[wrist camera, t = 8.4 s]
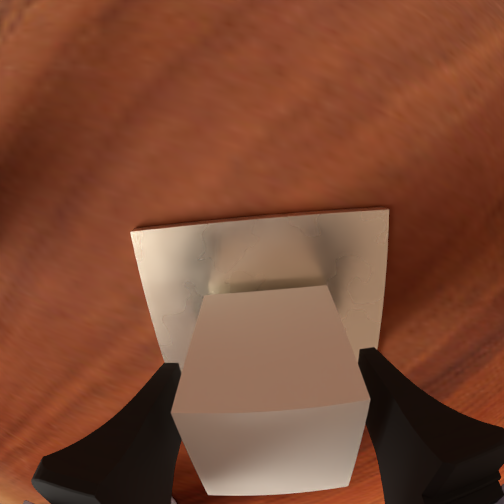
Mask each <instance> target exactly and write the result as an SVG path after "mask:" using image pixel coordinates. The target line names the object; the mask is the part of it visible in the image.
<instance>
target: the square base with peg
mask: <svg viewBox="0 0 504 504" xmlns="http://www.w3.org/2000/svg"><path fill="white" fill-rule="evenodd" d="M388 230H389V209H388V208H386V207H371V208H354V209H339V210H324V211H311V212H297V213H285V214H272V215H261V216H249V217H238V218H228V219H217V220H207V221H197V222H188V223H178V224H169V225H160V226H151V227H142V228H134V229H133V230H132V231H131V232H130V233H131V238H132V242H133V247H134V251H135V256H136V260H137V264H138V269H139V273H140V277H141V281H142V285H143V289H144V293H145V296H146V300H147V304H148V308H149V311H150V315H151V318H152V322H153V326H154V329H155V332H156V336H157V339H158V342H159V346H160V349H161V352H162V355H163V359H164V362H165V363H179V366H180V370H181V373H182V370H183V366H184V363H185V359H186V356H187V352H188V349H189V345H190V342H191V339H192V335H193V332H194V328H195V325H196V321H197V318H198V315H199V311H200V308H201V305H202V301H203V298H204V295H211V294H226V293H240V292H253V291H266V290H278V289H290V288H302V287H313V286H323V285H327V286H328V289H329V291H330V294H331V296H332V299H333V301H334V304H335V306H336V309H337V311H338V314H339V316H340V319H341V321H342V324H343V326H344V329H345V331H346V334H347V337H348V339H349V342H350V345H351V347H352V350H353V352H354V355H355V358H356V360H357V363H358V358H359V350H360V349H364V348H371V347H375V348H376V349H377V348H378V341H379V334H380V327H381V319H382V310H383V301H384V291H385V279H386V266H387V251H388Z"/></svg>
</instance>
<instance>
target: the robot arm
mask: <svg viewBox="0 0 504 504" xmlns="http://www.w3.org/2000/svg"><path fill="white" fill-rule="evenodd" d="M358 366H359V369H360V371H361V374H362V377H363V380H364V382H365V385H366V388H367V391H368V393H369V396H370V399H371V400H370V404H369V409H368V414H367V418H366V422H365V423H366V426H367V429H368V431H369V434H370V437H371V440H372V443H373V445H374V448H375V452H376V455H377V460H378V464H379V469H380V474H381V480H382V486H383V492H384V499H385V504H504V484H503V485H501V486H500V484H499V481H498V480H500V479H501V475H500V473H499V471H498V470H499V469H500V468H501V466H502V465H503V464H504V429H503V428H502V427H499V426H495V425H491V424H488V423H484V422H481V421H479V420H476V419H473V418H471V417H468V416H466V415H464V414H461V413H459V412H457V411H455V410H453V409H451V408H449V407H448V406H446V405H444V404H442V403H441V402H439V401H437V400H436V399H434V398H433V397H431V396H430V395H428V394H427V393H425V392H424V391H423V390H421V389H420V388H419V387H417V386H416V385H415V384H414V383H412V382H411V381H410V380H409V379H408V378H406V377H405V376H404V375H403V374H402V373H401V372H400V371H399V370H398V369H396V368H395V367H394V366H393V365H392V364H391V363H390V362H389V361H388V360H387V359H386V358H385V357H384V356H383V355H382V354H381V353H380V352H379V351H378V350H377V349H376V348H375V347H371V348H364V349H360V350H359V358H358ZM181 374H182V373H181V370H180V366H179V363H164V364H163V365H162V366H161V367H160V368H159V369H158V370H157V372H156V373H155V374H154V375H153V376H152V378H151V379H150V380H149V381H148V382H147V383H146V384H145V386H144V387H143V388H142V389H141V390H140V391H139V392H138V393H137V394H136V396H135V397H134V398H133V399H132V400H131V401H130V402H129V403H128V404H127V405H126V406H125V407H124V408H123V409H122V410H121V411H120V412H118V413H117V414H116V415H115V416H114V417H113V418H111V419H110V420H109V421H108V422H106V423H105V424H104V425H103V426H101V427H100V428H98V429H97V430H95V431H94V432H92V433H91V434H89V435H88V436H86V437H85V438H83V439H81V440H80V441H78V442H76V443H74V444H72V445H70V446H68V447H66V448H64V449H62V450H59V451H57V452H55V453H52V454H50V455H47V456H44V457H43V458H42V460H41V462H40V464H39V466H38V468H37V470H36V472H35V474H34V476H33V478H32V481H31V482H32V485H33V486H34V488H35V489H36V490H37V491H38V492H39V493H40V494H41V495H42V496H43V497H44V498H45V499H46V500H47V501H49V502H50V503H51V504H177V503H176V502H175V500H174V499H173V498H172V486H173V477H174V469H175V464H176V459H177V455H178V451H179V448H180V444H181V440H182V439H181V436H180V434H179V432H178V429H177V427H176V424H175V422H174V420H173V417H172V415H171V410H172V406H173V402H174V399H175V395H176V391H177V388H178V384H179V381H180V377H181ZM23 504H34V503H32V502H29V501H27V500H25V501H24V503H23Z"/></svg>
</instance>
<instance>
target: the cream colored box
mask: <svg viewBox="0 0 504 504" xmlns="http://www.w3.org/2000/svg"><path fill="white" fill-rule="evenodd" d="M370 400H371V399H370V396H369V393H368V391H367V388H366V385H365V382H364V380H363V377H362V374H361V371H360V369H359V366H358V363H357V360H356V358H355V355H354V352H353V350H352V347H351V345H350V342H349V339H348V337H347V334H346V331H345V329H344V326H343V324H342V321H341V319H340V316H339V314H338V311H337V309H336V306H335V304H334V301H333V299H332V296H331V294H330V291H329V289H328V286H327V285H323V286H313V287H302V288H290V289H278V290H266V291H253V292H240V293H226V294H211V295H204V298H203V301H202V305H201V308H200V311H199V315H198V318H197V321H196V325H195V328H194V332H193V335H192V339H191V342H190V345H189V349H188V352H187V356H186V359H185V363H184V366H183V370H182V374H181V377H180V381H179V384H178V388H177V391H176V395H175V399H174V402H173V406H172V410H171V415H172V417H173V420H174V422H175V424H176V427H177V429H178V432H179V434H180V436H181V439H182V441H183V443H184V445H185V448H186V450H187V452H188V454H189V457H190V459H191V461H192V463H193V465H194V467H195V470H196V472H197V474H198V476H199V478H200V480H201V482H202V484H203V486H204V488H205V490H206V492H207V494H208V495H226V496H249V495H275V494H290V493H301V492H310V491H319V490H326V489H333V488H340V487H346V486H348V485H349V482H350V479H351V475H352V472H353V468H354V465H355V461H356V458H357V454H358V450H359V447H360V443H361V439H362V435H363V431H364V427H365V422H366V418H367V414H368V409H369V404H370Z"/></svg>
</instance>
